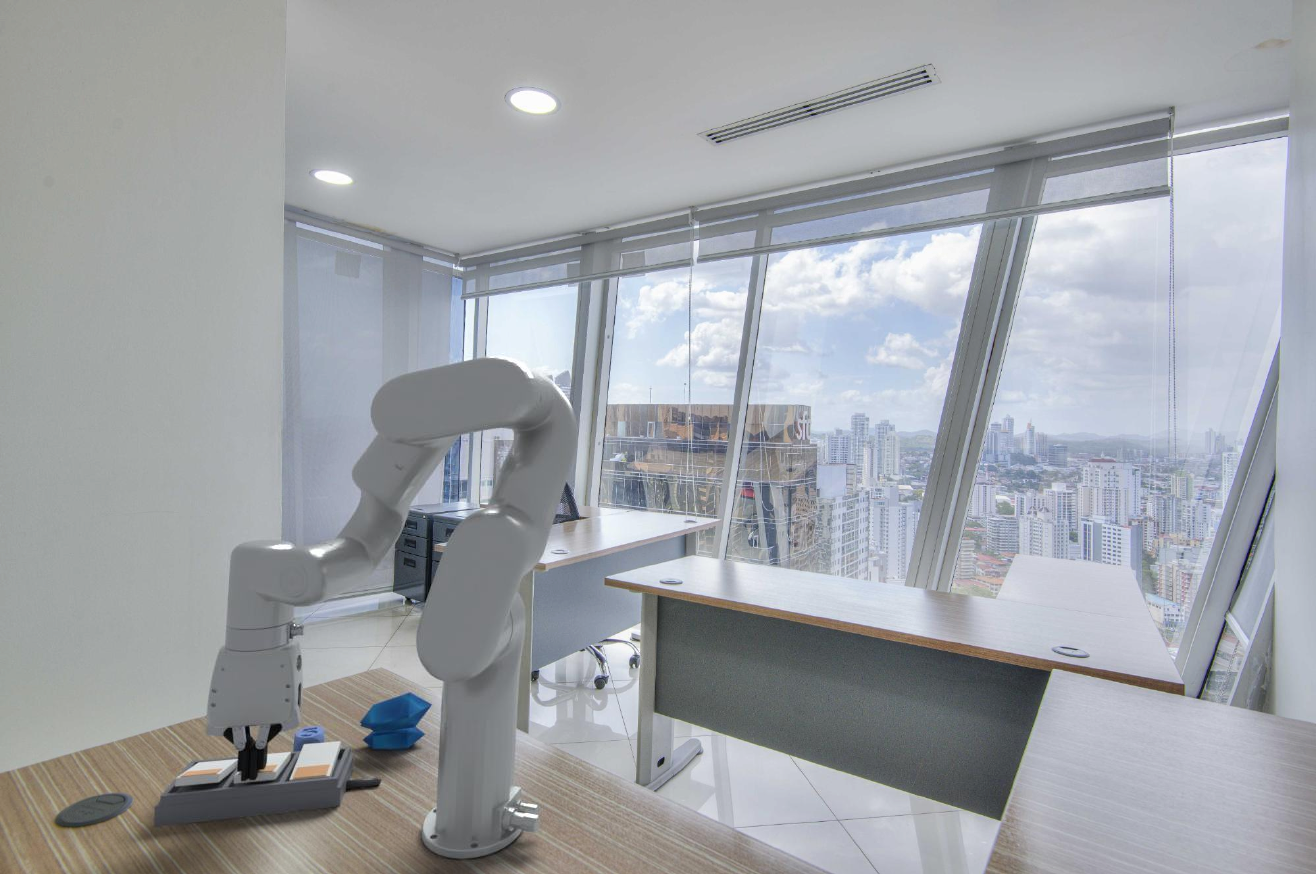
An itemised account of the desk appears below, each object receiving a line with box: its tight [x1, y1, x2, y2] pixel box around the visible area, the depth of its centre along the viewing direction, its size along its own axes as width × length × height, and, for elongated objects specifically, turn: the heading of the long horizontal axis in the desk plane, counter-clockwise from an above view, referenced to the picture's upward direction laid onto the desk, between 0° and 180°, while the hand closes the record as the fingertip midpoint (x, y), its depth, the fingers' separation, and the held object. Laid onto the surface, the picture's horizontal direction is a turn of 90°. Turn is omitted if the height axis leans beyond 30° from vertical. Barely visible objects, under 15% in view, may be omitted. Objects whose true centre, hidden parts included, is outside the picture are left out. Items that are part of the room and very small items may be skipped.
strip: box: [153, 746, 382, 828], centre depth 84 cm, size 26×9×4 cm, turn 106°
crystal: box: [359, 691, 433, 751], centre depth 99 cm, size 7×9×12 cm
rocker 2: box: [289, 740, 342, 781], centre depth 86 cm, size 5×7×1 cm
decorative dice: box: [292, 725, 325, 752], centre depth 95 cm, size 4×4×4 cm
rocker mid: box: [234, 751, 292, 783], centre depth 84 cm, size 5×7×1 cm
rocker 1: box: [175, 759, 238, 786], centre depth 82 cm, size 5×7×1 cm
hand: (251, 775), depth 81 cm, fingers closed
